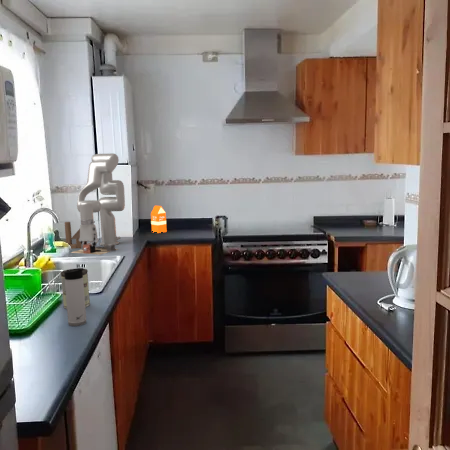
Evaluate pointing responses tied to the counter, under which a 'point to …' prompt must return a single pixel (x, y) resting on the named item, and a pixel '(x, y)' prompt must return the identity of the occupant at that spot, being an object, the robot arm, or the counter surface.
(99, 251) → the jig
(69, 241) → the brown long handled part
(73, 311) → the travel mug
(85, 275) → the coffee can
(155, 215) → the orange juice
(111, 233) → the robot arm
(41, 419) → the counter surface
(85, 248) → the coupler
